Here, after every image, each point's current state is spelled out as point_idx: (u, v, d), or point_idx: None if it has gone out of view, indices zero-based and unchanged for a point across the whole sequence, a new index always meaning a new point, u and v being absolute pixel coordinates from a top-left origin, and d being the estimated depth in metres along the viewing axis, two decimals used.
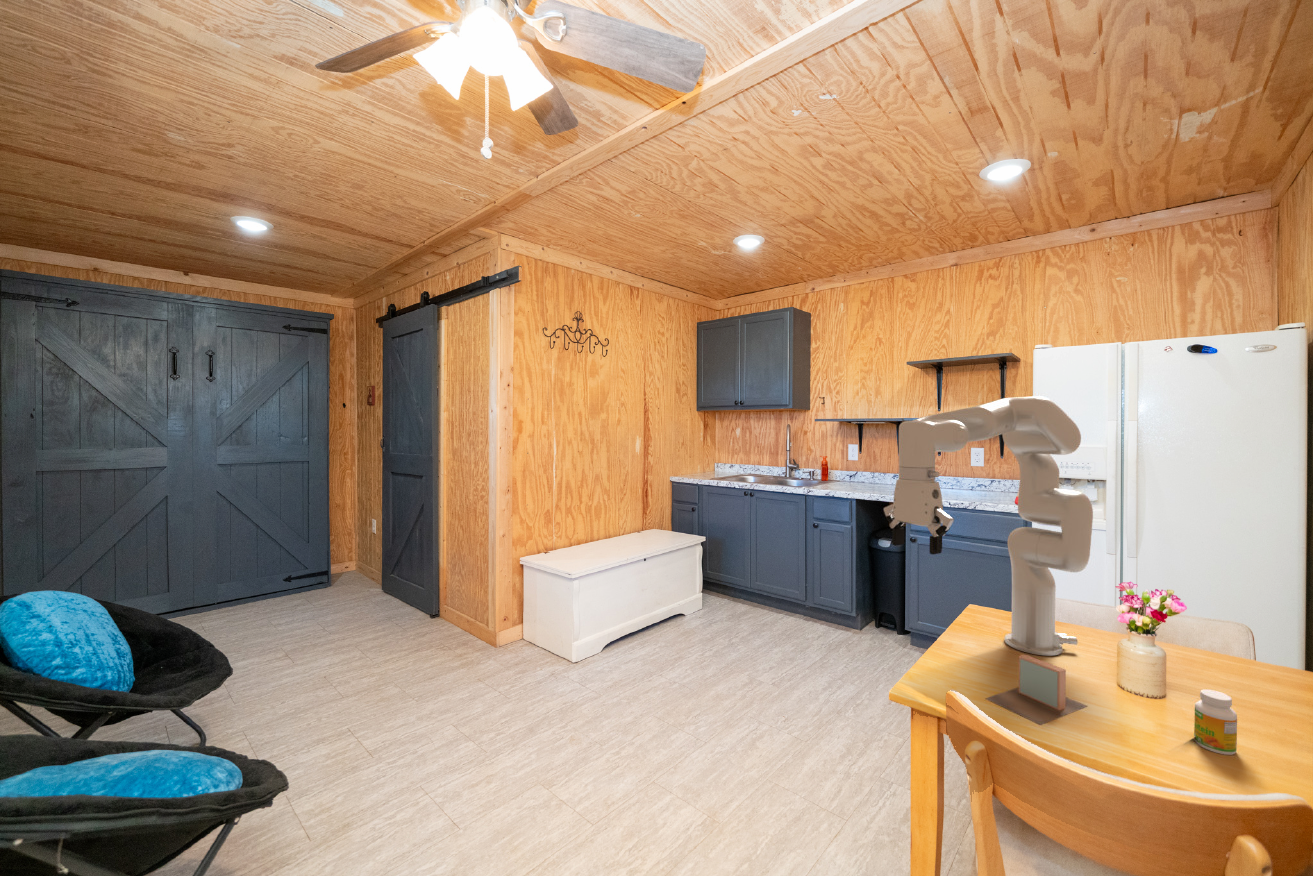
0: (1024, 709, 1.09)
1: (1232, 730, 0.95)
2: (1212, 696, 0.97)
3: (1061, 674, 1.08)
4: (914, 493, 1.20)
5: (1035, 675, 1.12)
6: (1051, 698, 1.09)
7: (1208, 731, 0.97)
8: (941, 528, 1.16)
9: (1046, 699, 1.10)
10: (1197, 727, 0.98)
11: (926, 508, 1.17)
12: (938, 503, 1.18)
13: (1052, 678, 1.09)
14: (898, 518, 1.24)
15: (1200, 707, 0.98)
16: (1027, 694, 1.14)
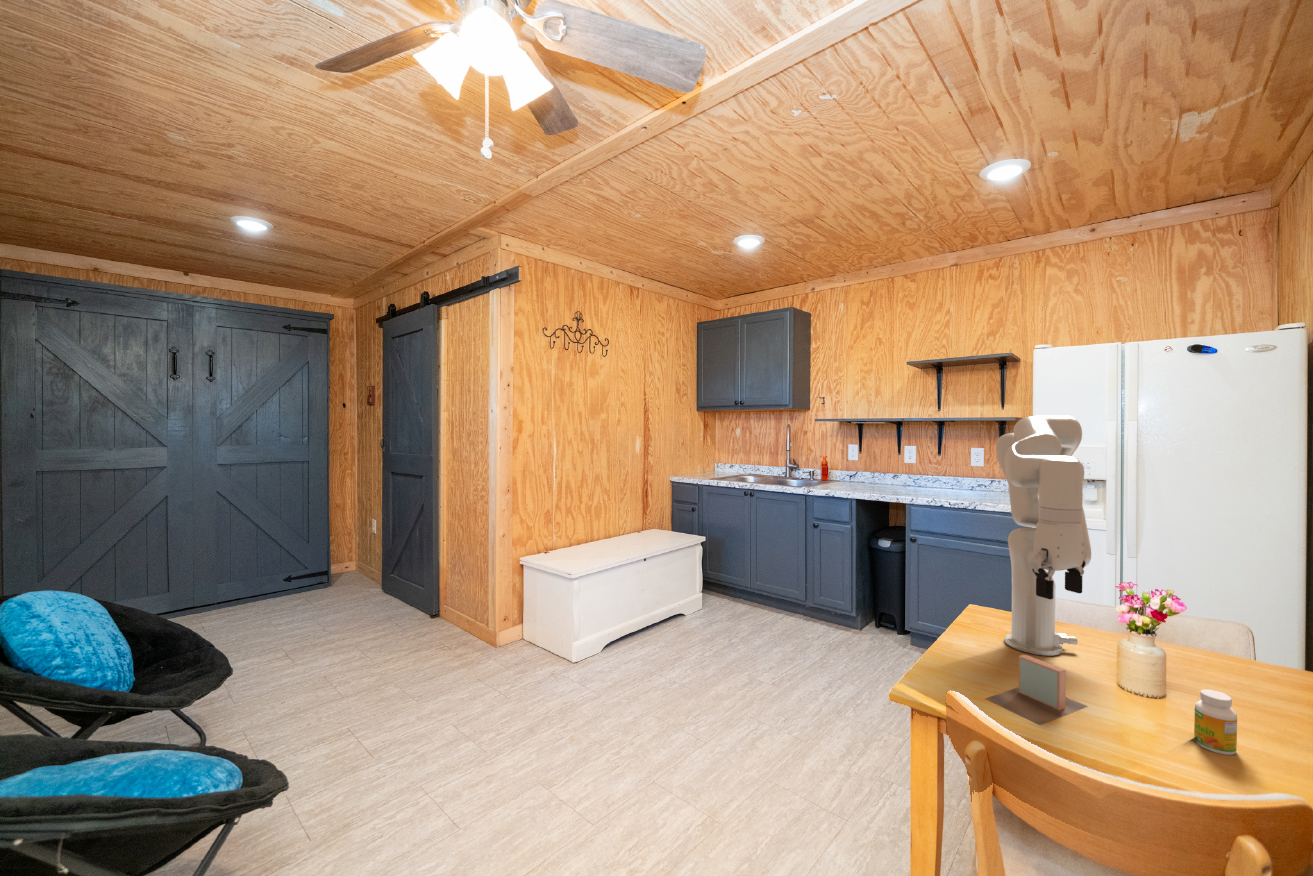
0: (1024, 709, 1.09)
1: (1232, 730, 0.95)
2: (1212, 696, 0.97)
3: (1061, 674, 1.08)
4: (1076, 535, 1.13)
5: (1035, 675, 1.12)
6: (1051, 698, 1.09)
7: (1208, 731, 0.97)
8: (1084, 564, 1.17)
9: (1046, 699, 1.10)
10: (1197, 727, 0.98)
11: (1082, 548, 1.15)
12: None
13: (1052, 678, 1.09)
14: (1060, 567, 1.12)
15: (1200, 707, 0.98)
16: (1027, 694, 1.14)
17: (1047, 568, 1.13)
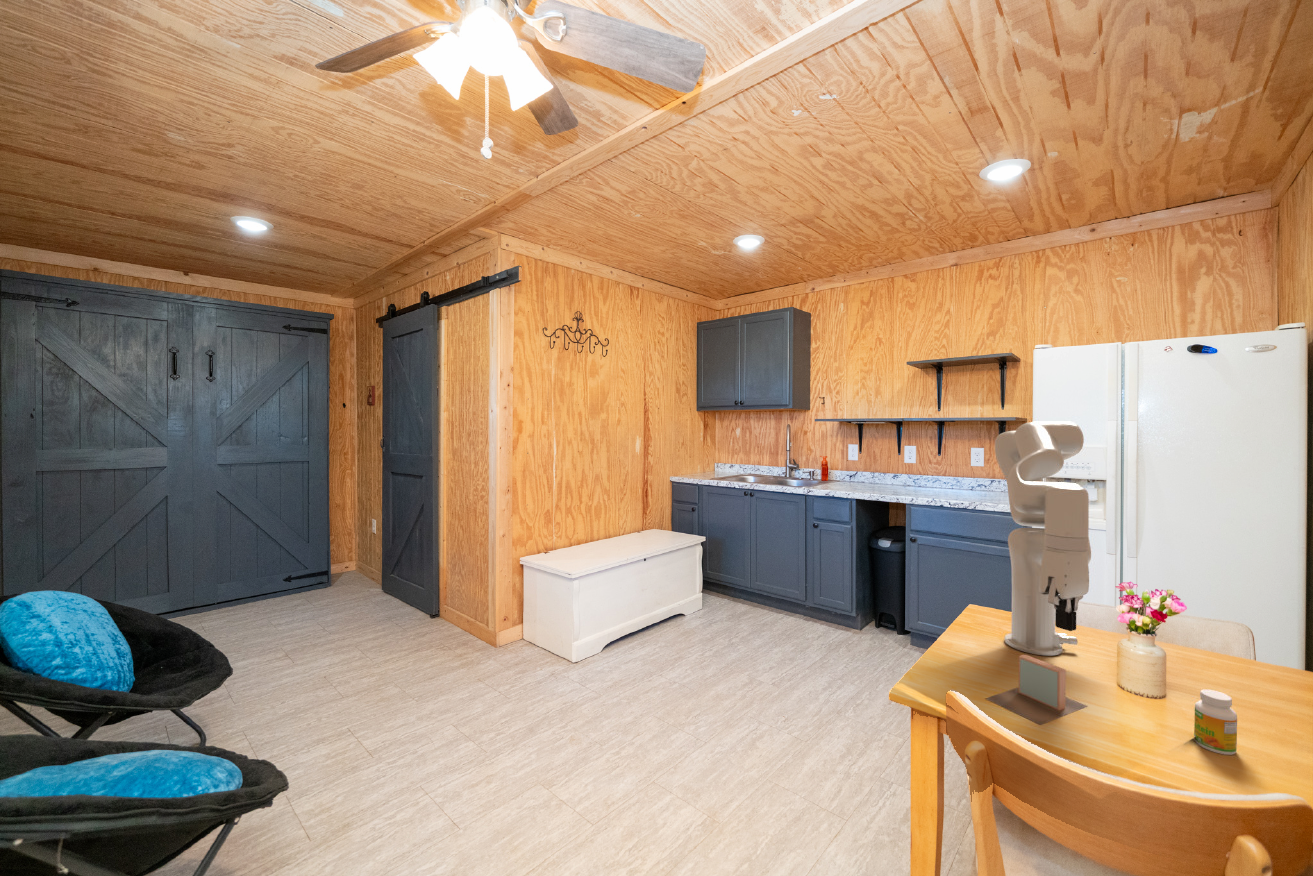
0: (1024, 709, 1.09)
1: (1232, 730, 0.95)
2: (1212, 696, 0.97)
3: (1061, 674, 1.08)
4: (1082, 563, 1.13)
5: (1035, 675, 1.12)
6: (1051, 698, 1.09)
7: (1208, 731, 0.97)
8: None
9: (1046, 699, 1.10)
10: (1197, 727, 0.98)
11: (1088, 576, 1.14)
12: None
13: (1052, 678, 1.09)
14: (1067, 596, 1.11)
15: (1200, 707, 0.98)
16: (1027, 694, 1.14)
17: None
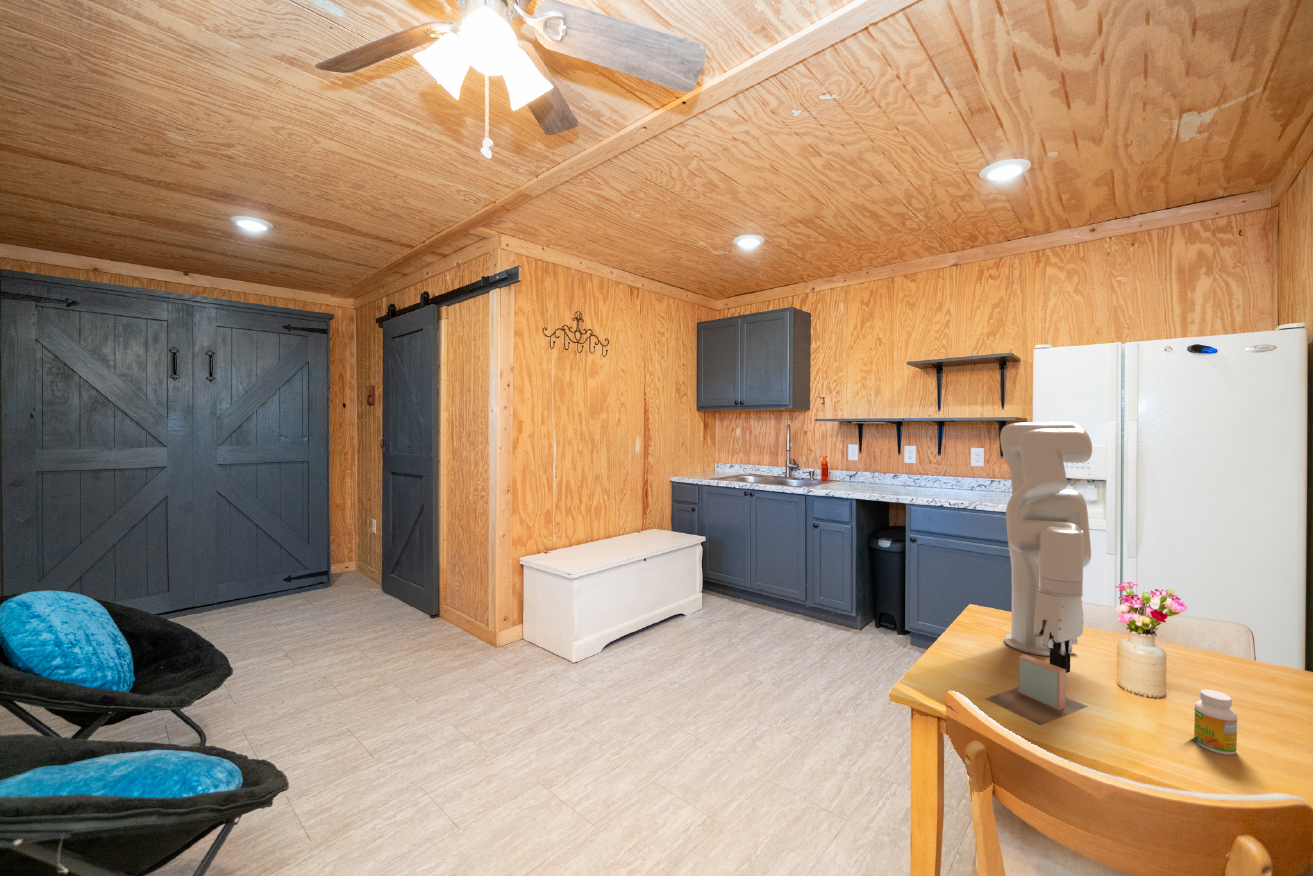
0: (1024, 709, 1.09)
1: (1232, 730, 0.95)
2: (1212, 696, 0.97)
3: (1061, 674, 1.08)
4: (1077, 606, 1.13)
5: (1035, 675, 1.12)
6: (1051, 698, 1.09)
7: (1208, 731, 0.97)
8: None
9: (1046, 699, 1.10)
10: (1197, 727, 0.98)
11: (1082, 618, 1.14)
12: None
13: (1052, 678, 1.09)
14: (1061, 639, 1.11)
15: (1200, 707, 0.98)
16: (1027, 694, 1.14)
17: None
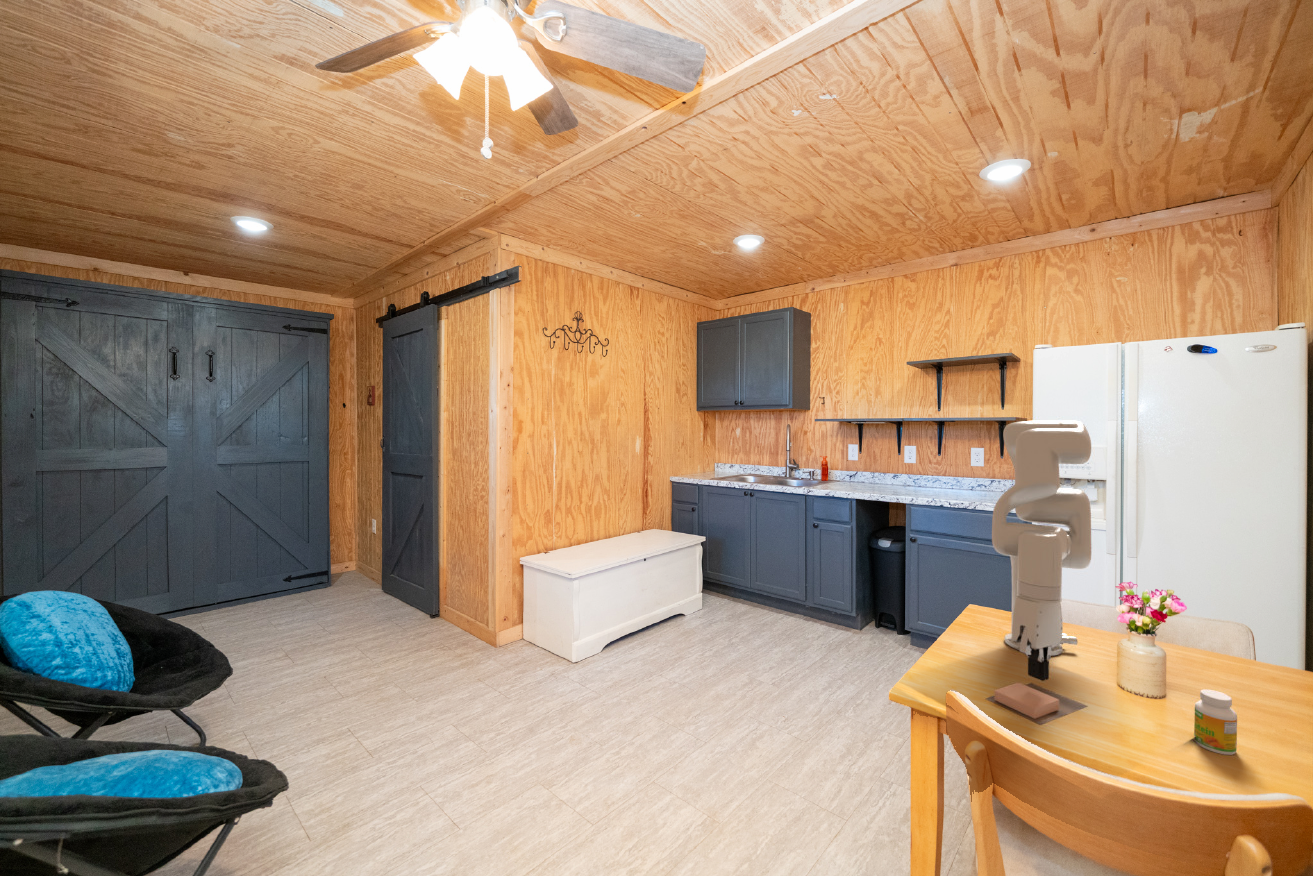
0: None
1: (1232, 730, 0.95)
2: (1212, 696, 0.97)
3: (1036, 715, 1.05)
4: (1055, 612, 1.10)
5: None
6: None
7: (1208, 731, 0.97)
8: None
9: None
10: (1197, 727, 0.98)
11: (1061, 624, 1.11)
12: None
13: None
14: (1039, 646, 1.08)
15: (1200, 707, 0.98)
16: None
17: None
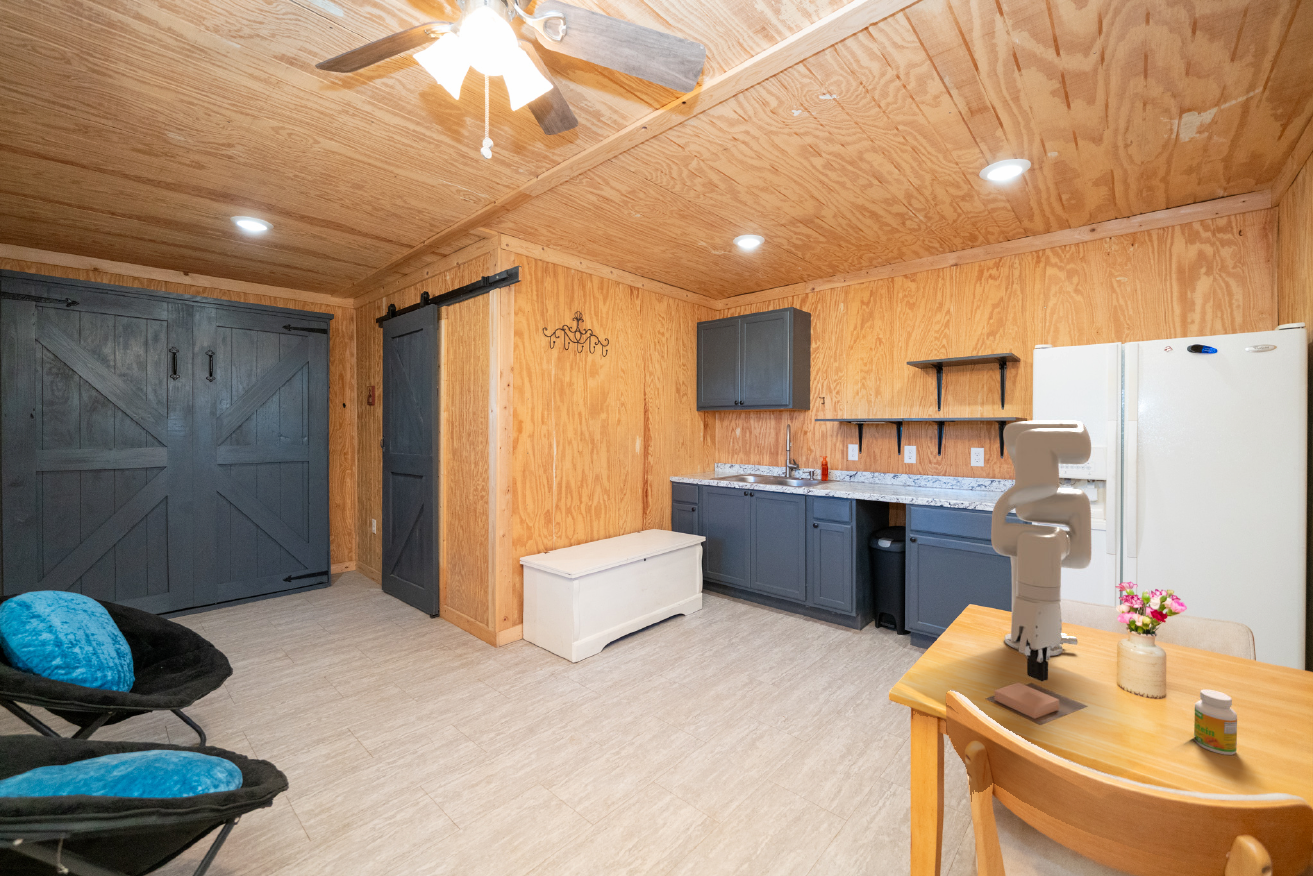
0: None
1: (1232, 730, 0.95)
2: (1212, 696, 0.97)
3: (1036, 715, 1.05)
4: (1054, 612, 1.09)
5: None
6: None
7: (1208, 731, 0.97)
8: None
9: None
10: (1197, 727, 0.98)
11: (1060, 624, 1.11)
12: None
13: None
14: (1038, 646, 1.08)
15: (1200, 707, 0.98)
16: None
17: None
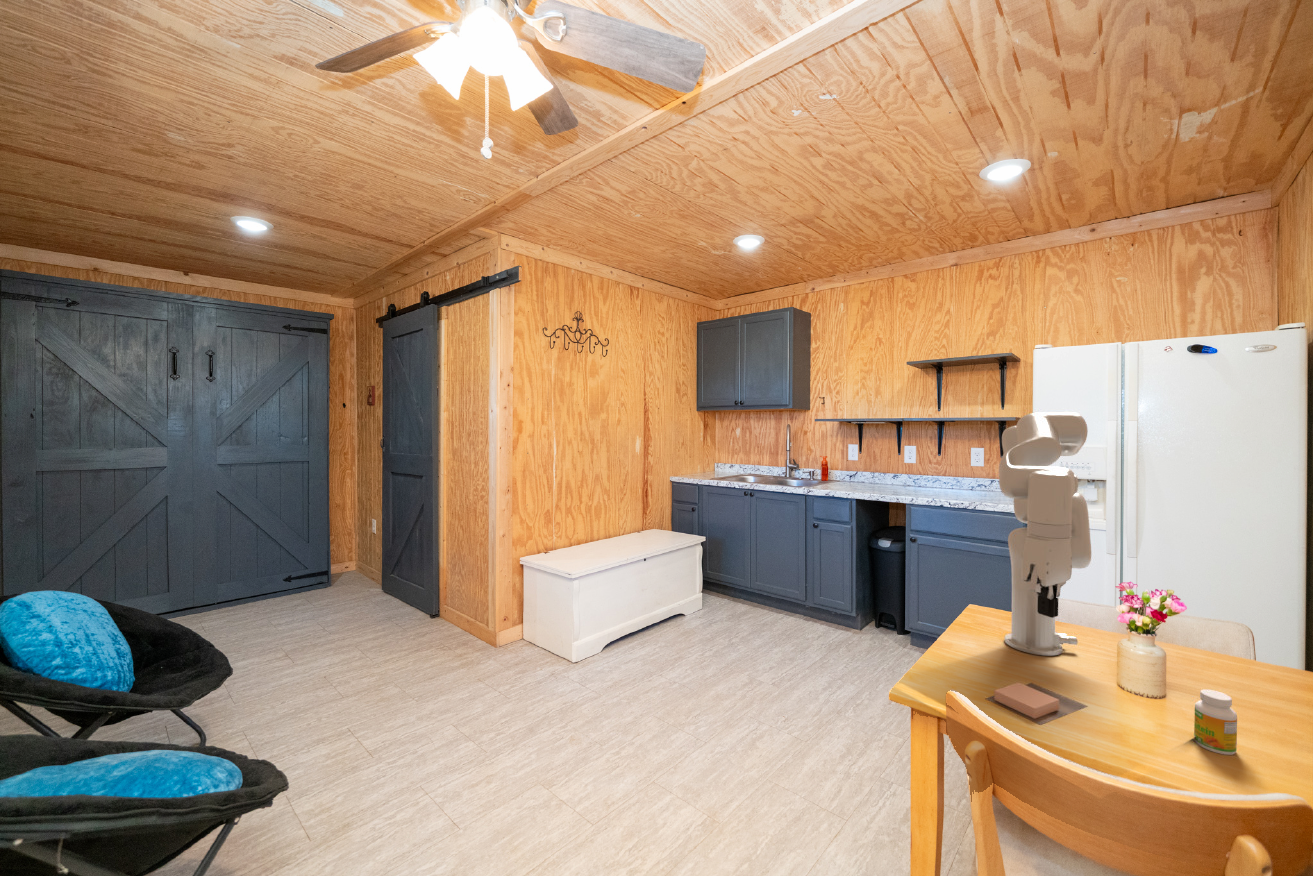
0: None
1: (1232, 730, 0.95)
2: (1212, 696, 0.97)
3: (1036, 715, 1.05)
4: (1065, 550, 1.11)
5: None
6: None
7: (1208, 731, 0.97)
8: None
9: None
10: (1197, 727, 0.98)
11: (1071, 562, 1.13)
12: None
13: None
14: (1049, 583, 1.10)
15: (1200, 707, 0.98)
16: None
17: None
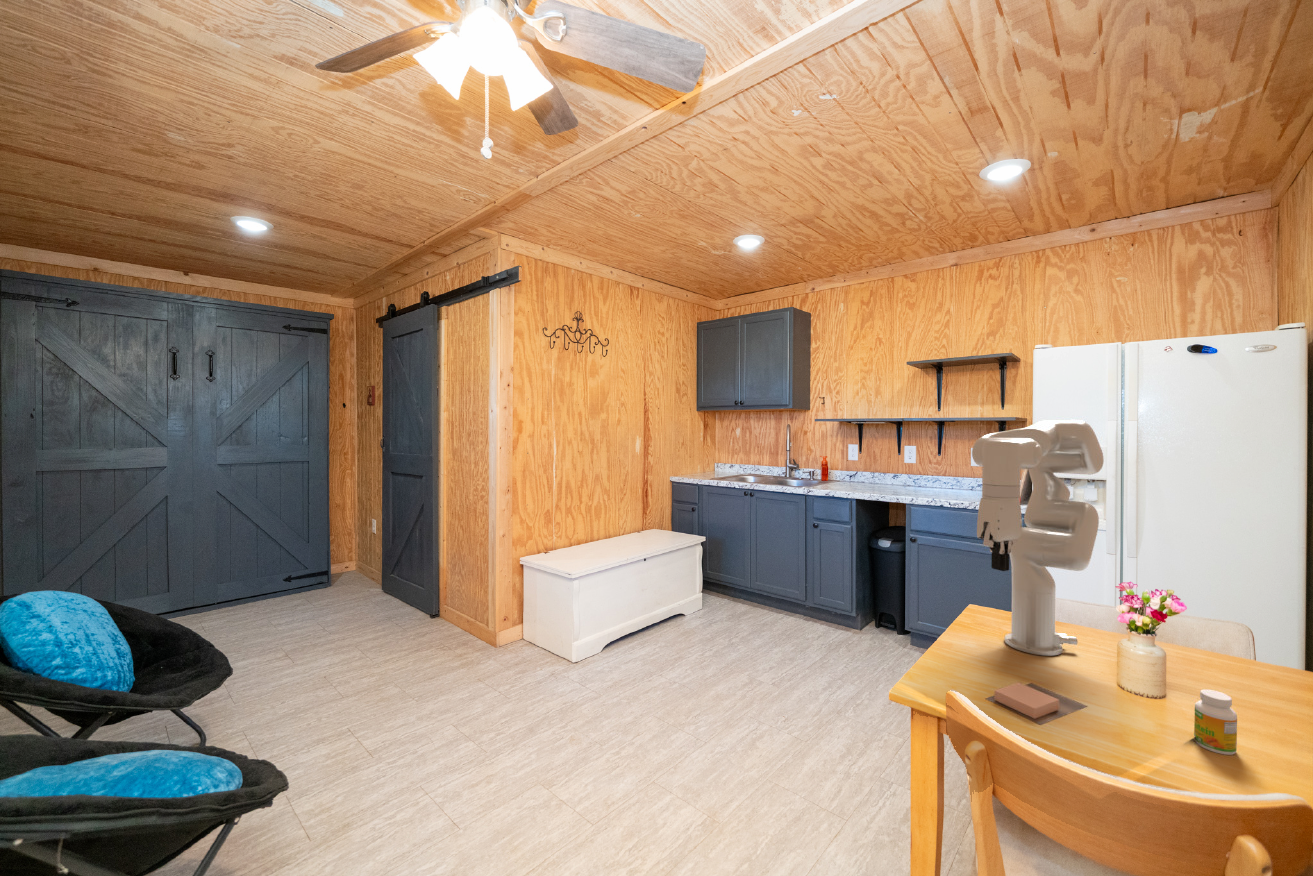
0: None
1: (1232, 730, 0.95)
2: (1212, 696, 0.97)
3: (1036, 715, 1.05)
4: (1015, 510, 1.24)
5: None
6: None
7: (1208, 731, 0.97)
8: None
9: None
10: (1197, 727, 0.98)
11: (1020, 521, 1.25)
12: None
13: None
14: (1000, 538, 1.22)
15: (1200, 707, 0.98)
16: None
17: None
